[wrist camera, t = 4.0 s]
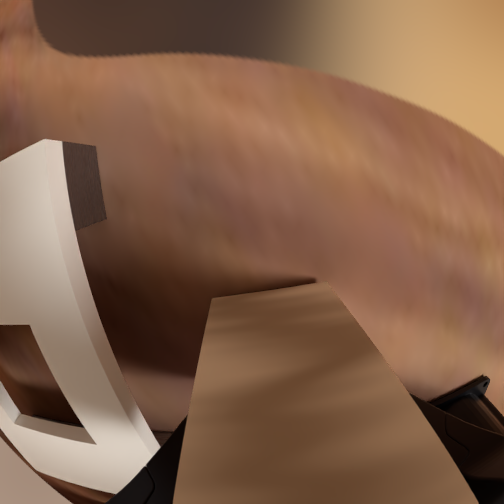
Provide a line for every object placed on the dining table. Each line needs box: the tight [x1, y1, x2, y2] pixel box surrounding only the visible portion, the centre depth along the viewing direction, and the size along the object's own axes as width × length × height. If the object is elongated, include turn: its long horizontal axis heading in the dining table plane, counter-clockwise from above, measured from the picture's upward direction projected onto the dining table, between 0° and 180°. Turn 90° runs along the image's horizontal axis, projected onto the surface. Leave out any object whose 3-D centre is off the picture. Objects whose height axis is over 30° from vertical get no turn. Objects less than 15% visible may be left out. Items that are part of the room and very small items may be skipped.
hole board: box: [0, 139, 172, 494], centre depth 10 cm, size 12×18×4 cm, turn 8°
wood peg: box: [173, 281, 479, 504], centre depth 7 cm, size 4×4×10 cm
